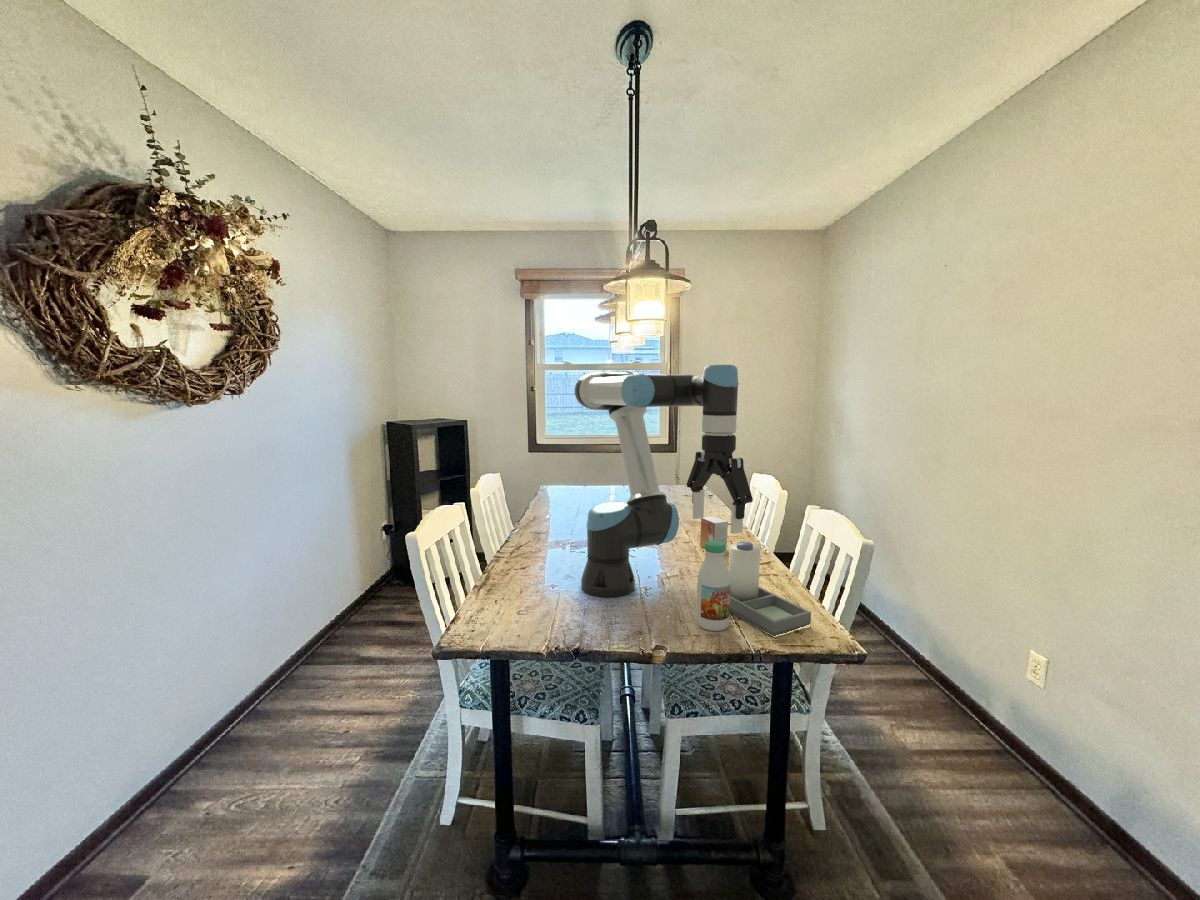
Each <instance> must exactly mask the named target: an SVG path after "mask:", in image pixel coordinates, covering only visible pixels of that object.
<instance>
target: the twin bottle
mask: <svg viewBox="0 0 1200 900" xmlns="http://www.w3.org/2000/svg"><path fill="white" fill-rule="evenodd" d="M728 551H729V552H728V571H729V574H730V596H732V597H733V598H735V599H737V600H739V601H741V602H743V601H747V600H751V599H756V598H758V588H759V587H760V586H759V585H760V584H759V582H760V566H761V565H760V564H761V563H760V562H761V560H760V559H761V547H759V546H757V545H754V544H753V543H752V542H749V541H738V542H736V543H732V544H730V545H729V550H728Z"/></svg>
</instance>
